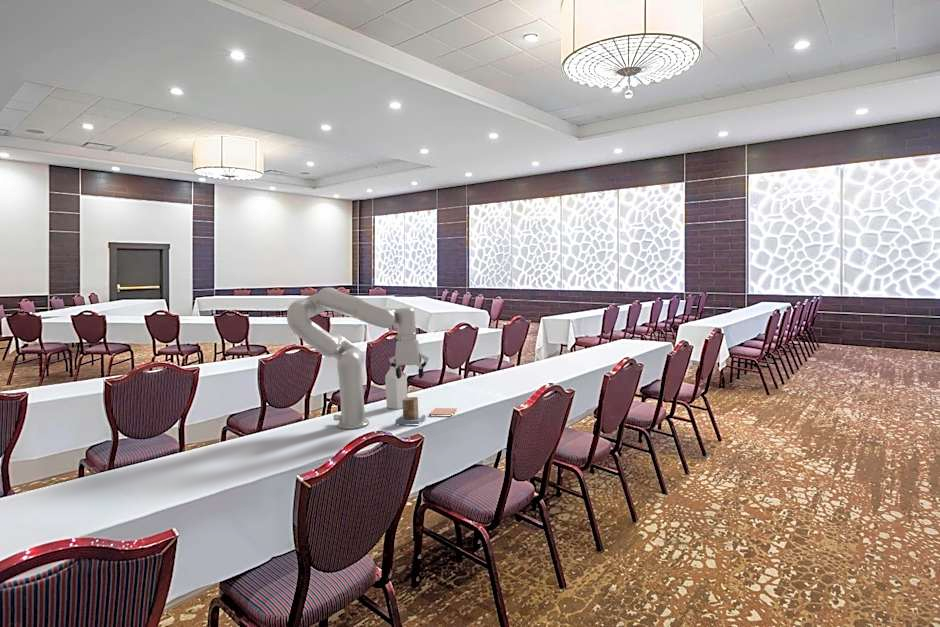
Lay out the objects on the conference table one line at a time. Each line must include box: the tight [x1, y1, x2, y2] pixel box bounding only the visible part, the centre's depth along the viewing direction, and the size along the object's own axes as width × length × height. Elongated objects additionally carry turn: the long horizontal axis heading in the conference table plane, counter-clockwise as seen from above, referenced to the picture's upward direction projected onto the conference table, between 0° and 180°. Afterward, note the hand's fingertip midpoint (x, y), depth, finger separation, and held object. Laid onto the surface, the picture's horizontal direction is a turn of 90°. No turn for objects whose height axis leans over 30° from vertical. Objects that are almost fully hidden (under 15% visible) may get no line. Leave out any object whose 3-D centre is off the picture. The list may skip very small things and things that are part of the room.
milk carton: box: [384, 366, 409, 410], centre depth 252 cm, size 7×7×19 cm
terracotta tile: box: [428, 407, 458, 416], centre depth 239 cm, size 10×10×1 cm
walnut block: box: [402, 396, 420, 420], centre depth 227 cm, size 5×5×10 cm
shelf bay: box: [395, 414, 426, 425], centre depth 227 cm, size 10×9×2 cm
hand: (410, 377), depth 226 cm, fingers open, 9 cm apart
